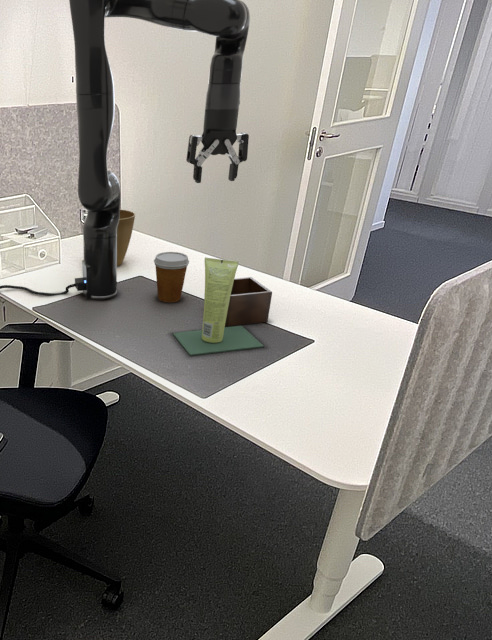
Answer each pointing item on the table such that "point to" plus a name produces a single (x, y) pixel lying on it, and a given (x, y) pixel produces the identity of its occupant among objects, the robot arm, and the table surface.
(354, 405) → the table surface
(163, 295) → the disposable coffee cup
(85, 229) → the robot arm
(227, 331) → the felt mat
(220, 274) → the tube
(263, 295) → the box
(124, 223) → the plant pot
